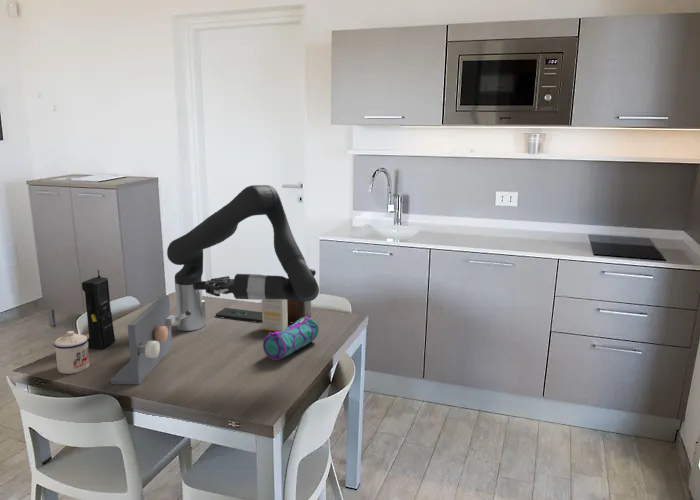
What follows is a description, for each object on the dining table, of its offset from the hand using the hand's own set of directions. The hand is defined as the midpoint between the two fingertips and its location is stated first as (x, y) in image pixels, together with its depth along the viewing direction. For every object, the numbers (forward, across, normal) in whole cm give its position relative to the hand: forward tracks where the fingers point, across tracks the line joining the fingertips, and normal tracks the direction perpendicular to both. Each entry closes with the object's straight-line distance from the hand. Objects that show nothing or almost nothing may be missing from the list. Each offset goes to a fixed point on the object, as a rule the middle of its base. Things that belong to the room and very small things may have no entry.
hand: (193, 285), depth 161 cm
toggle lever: (+7, -11, +15) cm, 20 cm away
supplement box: (-19, -32, +26) cm, 45 cm away
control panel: (+16, 0, +26) cm, 30 cm away
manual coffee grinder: (-25, -46, +26) cm, 59 cm away
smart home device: (-4, -44, +27) cm, 52 cm away
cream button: (+11, +12, +18) cm, 24 cm away
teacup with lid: (+36, +3, +26) cm, 45 cm away
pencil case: (-27, -14, +26) cm, 40 cm away
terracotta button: (+13, 0, +18) cm, 22 cm away
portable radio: (+36, -12, +26) cm, 46 cm away
